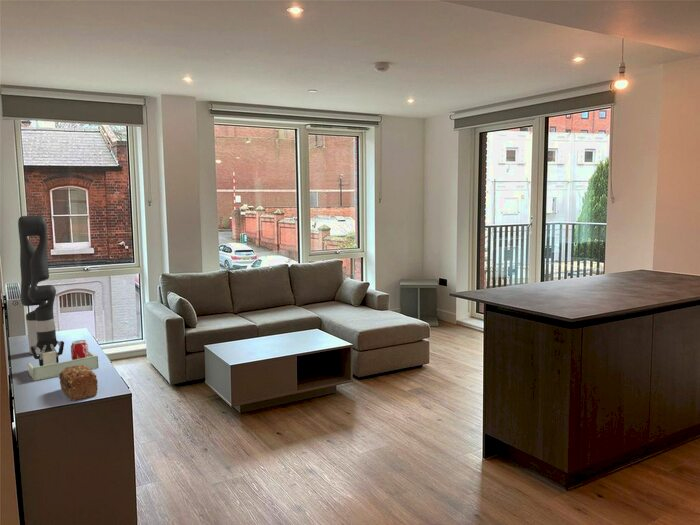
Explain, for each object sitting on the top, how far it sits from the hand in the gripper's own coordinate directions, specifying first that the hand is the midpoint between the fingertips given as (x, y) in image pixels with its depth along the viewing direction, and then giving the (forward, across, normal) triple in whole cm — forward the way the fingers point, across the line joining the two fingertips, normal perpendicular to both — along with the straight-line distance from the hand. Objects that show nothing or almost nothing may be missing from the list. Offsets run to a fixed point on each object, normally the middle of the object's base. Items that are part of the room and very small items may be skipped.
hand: (49, 365), depth 252 cm
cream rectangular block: (+1, 0, 0) cm, 1 cm away
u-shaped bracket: (+1, -4, +10) cm, 11 cm away
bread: (+1, -2, +45) cm, 45 cm away
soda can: (+1, -11, +10) cm, 15 cm away
